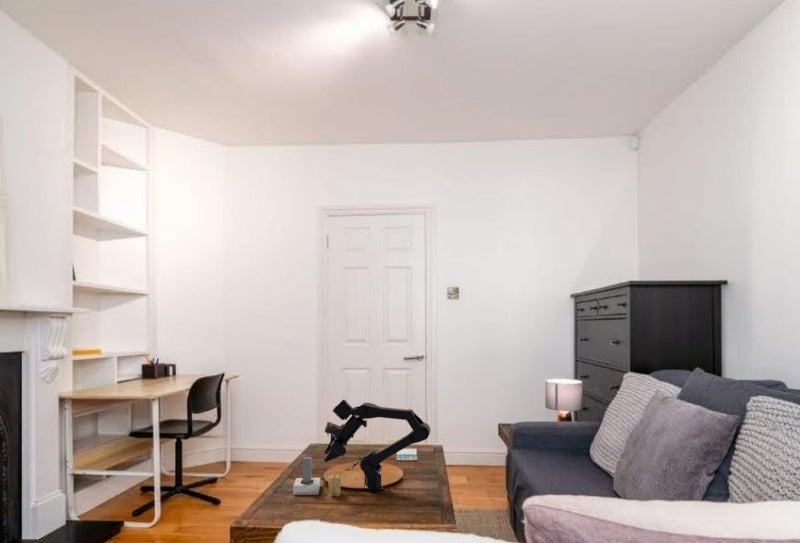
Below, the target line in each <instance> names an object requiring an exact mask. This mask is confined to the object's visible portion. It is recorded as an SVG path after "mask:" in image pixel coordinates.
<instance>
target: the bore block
mask: <svg viewBox="0 0 800 543" xmlns="http://www.w3.org/2000/svg"><path fill="white" fill-rule="evenodd" d="M320 489H321V477H311V484H303V477H296V478H295V480H294V483H293V486H292V491H293V492H292V495H293V496H310V495H311V496H312V495H314V496H315V495H319V493H320Z"/></svg>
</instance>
